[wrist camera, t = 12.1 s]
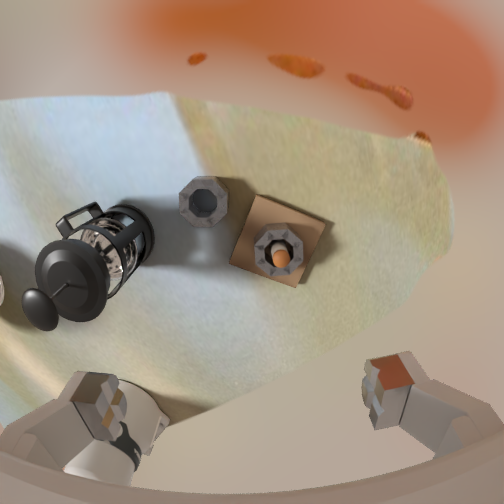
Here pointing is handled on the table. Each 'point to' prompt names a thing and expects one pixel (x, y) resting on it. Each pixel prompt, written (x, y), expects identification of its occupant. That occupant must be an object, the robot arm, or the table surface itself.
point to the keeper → (277, 249)
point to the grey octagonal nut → (274, 233)
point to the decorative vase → (1, 291)
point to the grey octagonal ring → (193, 212)
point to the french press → (86, 266)
